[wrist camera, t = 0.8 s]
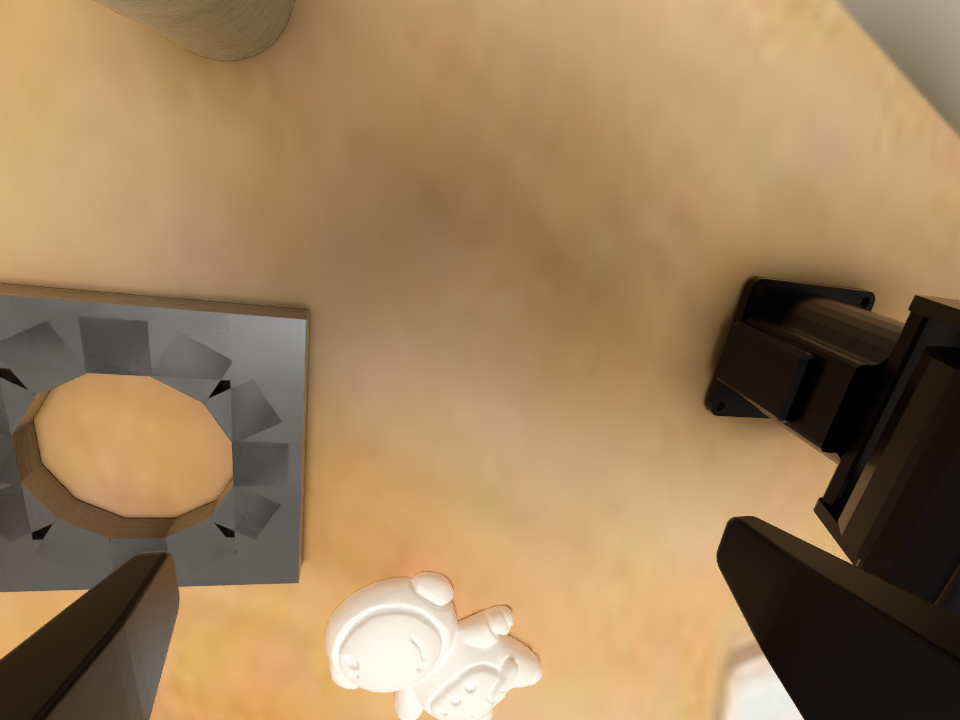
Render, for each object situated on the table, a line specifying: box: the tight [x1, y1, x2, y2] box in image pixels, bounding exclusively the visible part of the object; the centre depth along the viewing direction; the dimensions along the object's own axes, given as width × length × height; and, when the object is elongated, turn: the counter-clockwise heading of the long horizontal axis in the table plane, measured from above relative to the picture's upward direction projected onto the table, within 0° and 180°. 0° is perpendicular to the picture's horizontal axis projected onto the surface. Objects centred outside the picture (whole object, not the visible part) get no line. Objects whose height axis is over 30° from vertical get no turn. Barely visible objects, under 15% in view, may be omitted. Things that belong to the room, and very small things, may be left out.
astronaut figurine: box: [325, 572, 542, 720], centre depth 26 cm, size 9×12×3 cm
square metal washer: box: [0, 283, 310, 592], centre depth 19 cm, size 12×12×1 cm
